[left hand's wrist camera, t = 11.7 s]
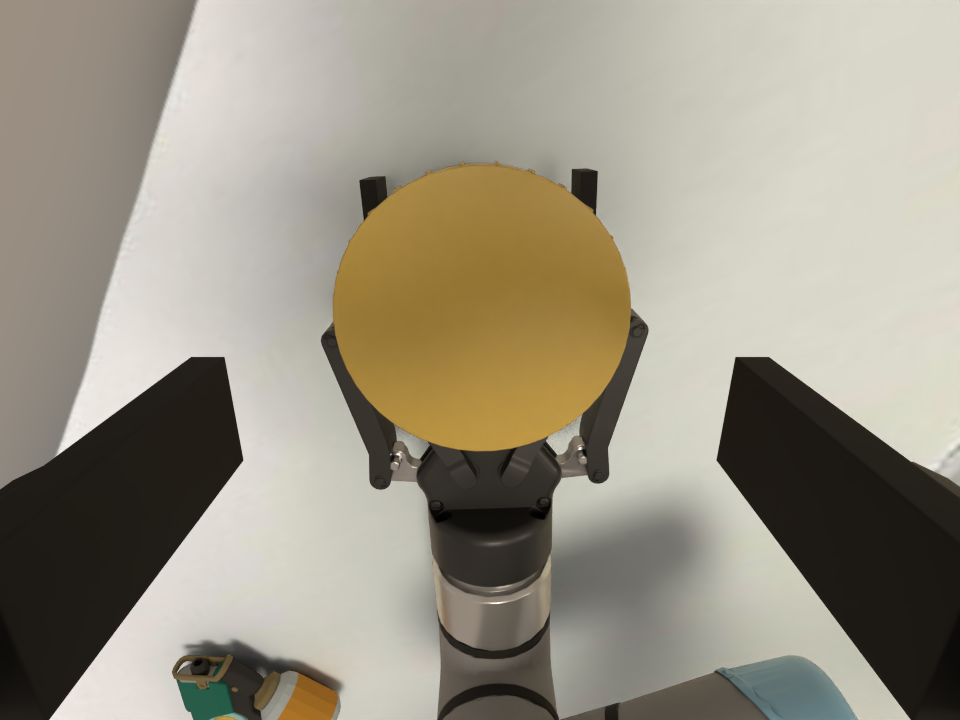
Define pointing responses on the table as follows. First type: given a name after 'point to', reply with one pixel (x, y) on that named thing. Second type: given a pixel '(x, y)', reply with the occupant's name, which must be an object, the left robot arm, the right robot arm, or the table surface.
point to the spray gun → (250, 692)
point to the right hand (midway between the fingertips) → (478, 174)
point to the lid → (481, 307)
